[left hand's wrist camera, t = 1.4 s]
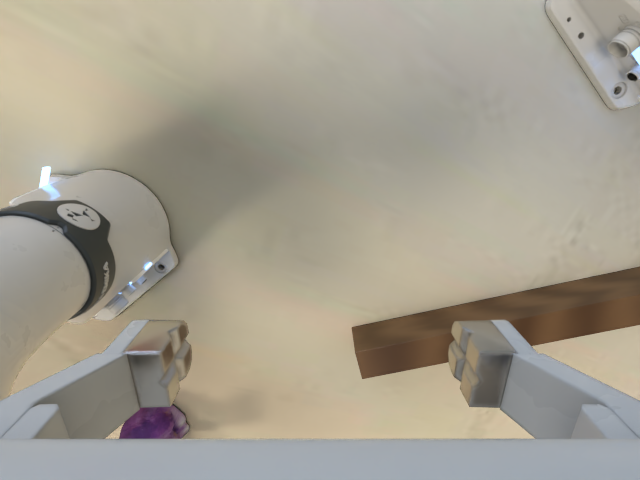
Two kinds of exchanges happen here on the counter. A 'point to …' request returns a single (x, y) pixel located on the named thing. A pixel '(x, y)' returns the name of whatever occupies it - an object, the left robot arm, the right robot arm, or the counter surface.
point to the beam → (518, 308)
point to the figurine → (155, 424)
